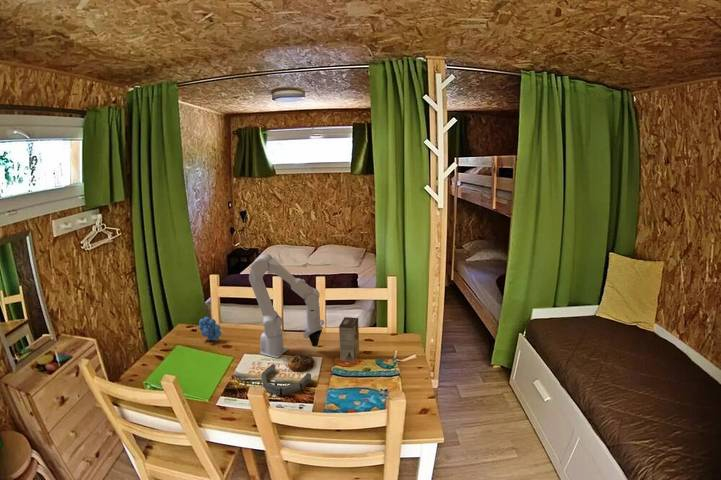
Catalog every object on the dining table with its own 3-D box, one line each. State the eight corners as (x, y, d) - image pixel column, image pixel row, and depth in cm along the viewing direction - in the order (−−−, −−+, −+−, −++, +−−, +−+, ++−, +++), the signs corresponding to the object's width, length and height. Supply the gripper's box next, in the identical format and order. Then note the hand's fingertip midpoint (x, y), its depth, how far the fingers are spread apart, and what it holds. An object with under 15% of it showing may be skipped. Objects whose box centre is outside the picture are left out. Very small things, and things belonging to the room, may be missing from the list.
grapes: (194, 343, 162) (191, 320, 160) (203, 336, 169) (201, 313, 166) (216, 346, 160) (213, 322, 157) (225, 339, 166) (222, 315, 163)
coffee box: (345, 349, 155) (344, 316, 151) (359, 351, 153) (358, 317, 150) (339, 361, 146) (338, 325, 143) (354, 362, 145) (354, 327, 141)
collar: (252, 387, 129) (251, 381, 129) (272, 369, 140) (272, 364, 140) (293, 399, 123) (293, 392, 122) (311, 379, 134) (310, 373, 133)
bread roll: (310, 373, 138) (308, 361, 137) (284, 374, 140) (282, 363, 139) (318, 359, 148) (316, 348, 148) (294, 360, 151) (292, 349, 150)
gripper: (313, 325, 142) (314, 355, 145) (329, 311, 156) (330, 339, 158) (298, 323, 145) (300, 352, 148) (315, 309, 158) (317, 337, 161)
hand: (315, 345), depth 153 cm, fingers closed
